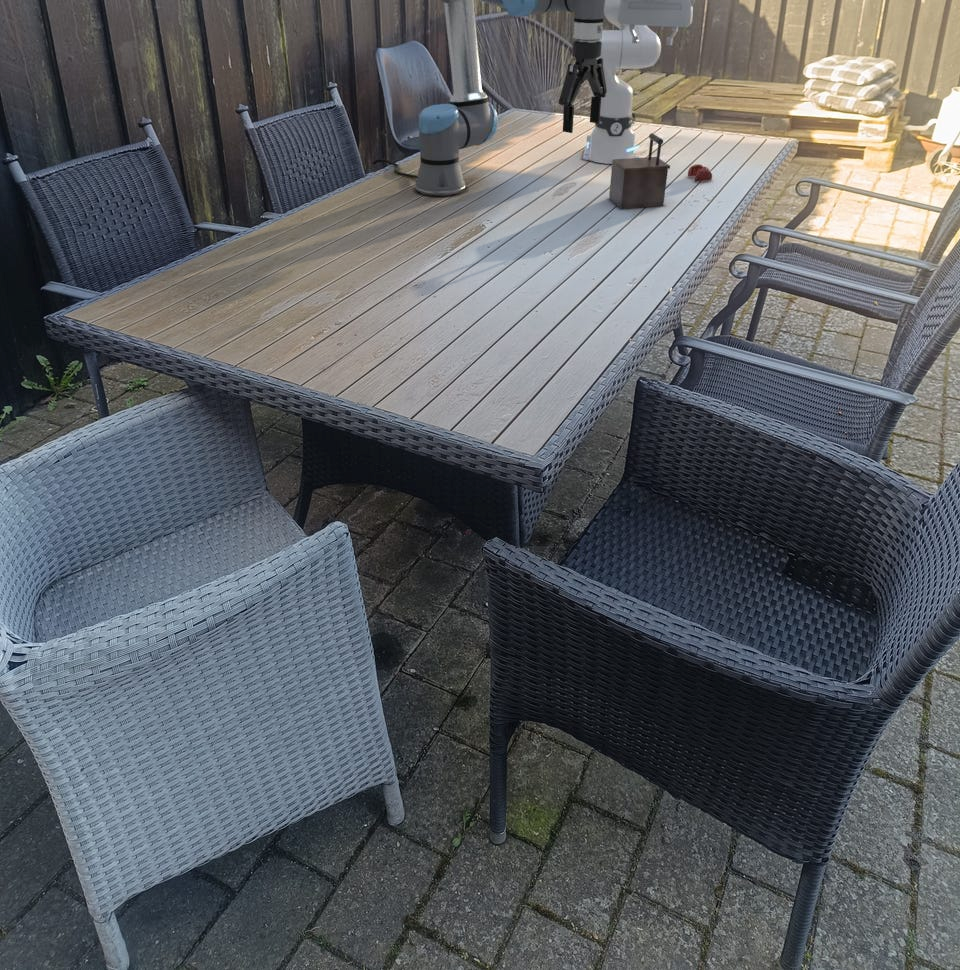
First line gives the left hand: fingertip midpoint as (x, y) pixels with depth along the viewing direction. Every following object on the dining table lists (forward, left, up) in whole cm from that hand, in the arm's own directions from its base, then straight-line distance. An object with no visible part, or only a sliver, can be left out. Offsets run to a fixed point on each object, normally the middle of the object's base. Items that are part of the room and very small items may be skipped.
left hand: (581, 127), depth 230 cm
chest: (+10, +17, -22) cm, 30 cm away
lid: (+10, +17, -12) cm, 23 cm away
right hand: (+5, +26, +18) cm, 32 cm away
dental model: (+14, +50, -22) cm, 57 cm away
